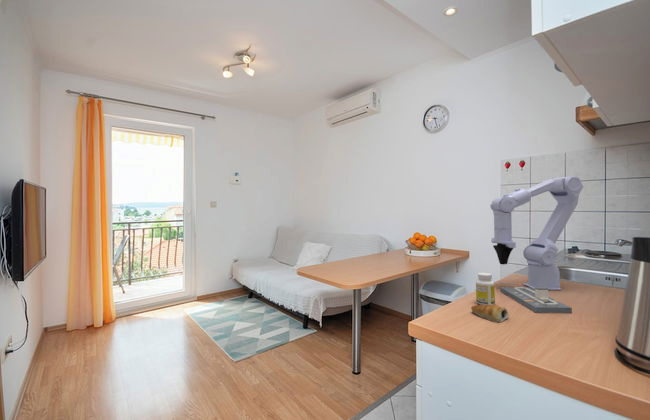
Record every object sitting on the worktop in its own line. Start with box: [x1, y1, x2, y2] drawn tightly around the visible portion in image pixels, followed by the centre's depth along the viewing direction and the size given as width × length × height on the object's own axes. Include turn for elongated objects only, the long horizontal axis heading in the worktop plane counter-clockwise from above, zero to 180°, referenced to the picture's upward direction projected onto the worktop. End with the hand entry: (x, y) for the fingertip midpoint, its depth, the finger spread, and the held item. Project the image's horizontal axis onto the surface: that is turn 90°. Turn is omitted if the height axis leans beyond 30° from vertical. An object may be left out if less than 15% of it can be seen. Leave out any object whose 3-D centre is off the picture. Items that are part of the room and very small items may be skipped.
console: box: [499, 286, 573, 314], centre depth 100 cm, size 10×22×2 cm, turn 174°
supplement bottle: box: [475, 272, 496, 305], centre depth 99 cm, size 5×5×10 cm
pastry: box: [470, 304, 510, 323], centre depth 88 cm, size 9×7×4 cm
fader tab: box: [534, 287, 550, 302], centre depth 95 cm, size 3×3×4 cm
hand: (503, 264), depth 115 cm, fingers closed
